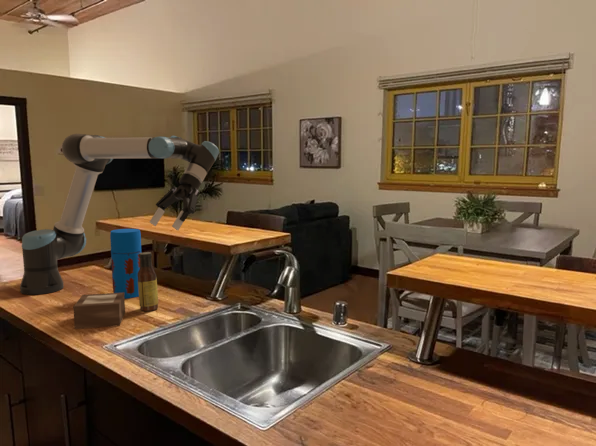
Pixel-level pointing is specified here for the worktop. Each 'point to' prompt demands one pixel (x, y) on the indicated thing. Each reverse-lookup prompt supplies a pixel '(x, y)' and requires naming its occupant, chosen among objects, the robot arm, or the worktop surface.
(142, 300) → the sauce bottle
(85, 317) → the block
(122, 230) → the thermos
